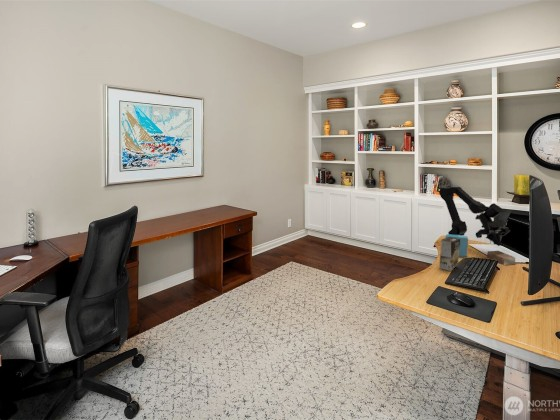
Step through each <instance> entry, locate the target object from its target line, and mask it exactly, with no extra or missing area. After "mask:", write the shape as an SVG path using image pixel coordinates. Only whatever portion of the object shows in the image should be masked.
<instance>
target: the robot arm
mask: <svg viewBox="0 0 560 420" xmlns="http://www.w3.org/2000/svg"><path fill="white" fill-rule="evenodd" d="M438 193H439V196H440V198H441V199H442V200H443V201H444V203H445V205H446V208H447V210H448V213H449V216H450V219H451V229H450V230H449V231H447V233H448V234H451V235H462V236H465V233H467V231H468V226H467V223H466V221H463V220H461V218H460V215H459V212H458V209H457V207H456V204H455V200H454V197H455V195H456V196H457V197H458V199H459V198H460V200H462V202H464V203H465V204H466V205H467V207H468V209H469V210H470V211H471V213H473V214H476V216H475V220H479V221H480V224H481V229H478V231H476V232H475V237H476V238H477V239H481V238H482V237H483V236H484V235H485V236H486V237H485V238H486V239H488V240H489V241H491V242H492V243H493V244H495V245H496V246H498V247H500V246H501V245H502V244H501V237H504V236H506V235H507V234H508V233H510V232H511V229H510V228H509V227H505V225H506V221H505V219H499V220H497V221H495V220H493V219H494V218H496V217H497V216H499V215H501V214H502V213H503V209H502V207H500V206H499V205H498V204H496V203H490V205H489V206H486V205H485V203H482V202H481V201H479V200H476V199H474V198H473V197H472V196H470V195H469V194H468V193H467V192H466V191H465V190H464V189H463V188H462V187H461V186H454V187H452V186H451V187H450V186H447V187H440V188H439V190H438Z"/></svg>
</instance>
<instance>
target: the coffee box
mask: <svg viewBox="0 0 560 420" xmlns="http://www.w3.org/2000/svg"><path fill="white" fill-rule="evenodd" d="M440 243H441V245H440V254H439V255H440V256H439V266H438V269H441V270H444V271H449V272H451V271H453V270H455V269H456V268H455V267H456V266H457V265H459V258H460V257H459V249H460V239H458V238H453V237H448V238H445V237H444V238H443V239H441V242H440ZM454 268H455V269H454Z"/></svg>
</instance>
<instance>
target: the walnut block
mask: <svg viewBox="0 0 560 420" xmlns="http://www.w3.org/2000/svg"><path fill="white" fill-rule="evenodd" d="M486 255H487V256H486V258H487V259H489V260H491V259H493V260H497V261H498V262H497V263H498V264H501V265H503V266H508V265H509V266H510V265H515V264H516V257H515V256H513V255H510V254H508V253H505V252H503V251H500V250H489V251H487V254H486ZM493 260H492V261H493Z"/></svg>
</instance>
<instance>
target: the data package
mask: <svg viewBox="0 0 560 420" xmlns="http://www.w3.org/2000/svg"><path fill="white" fill-rule="evenodd" d="M448 237H453V238H458V239H460V249H459V258H466V257H467V255H468V246H469V245H468V244H469V238H468V236H466V235H451V234H446V235H445V236H444V239H445V238H448Z"/></svg>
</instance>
